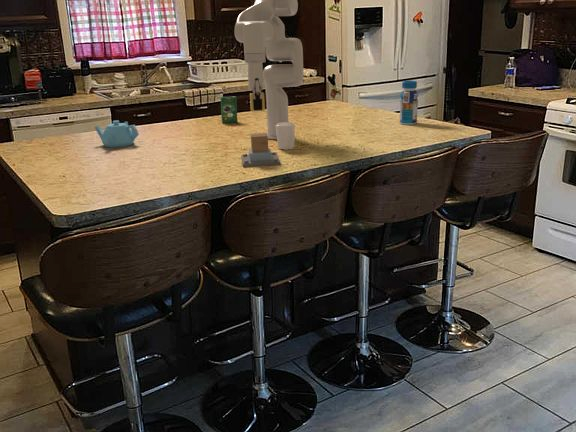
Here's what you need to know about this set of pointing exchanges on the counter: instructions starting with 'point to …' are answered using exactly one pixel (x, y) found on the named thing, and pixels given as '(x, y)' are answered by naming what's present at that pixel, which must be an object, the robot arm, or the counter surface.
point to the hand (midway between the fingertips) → (257, 108)
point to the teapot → (117, 134)
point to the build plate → (260, 163)
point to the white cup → (285, 135)
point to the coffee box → (229, 109)
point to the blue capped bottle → (408, 103)
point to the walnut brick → (259, 142)
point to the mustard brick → (252, 102)
